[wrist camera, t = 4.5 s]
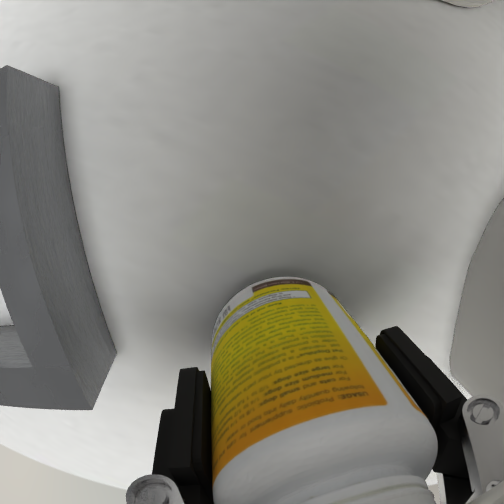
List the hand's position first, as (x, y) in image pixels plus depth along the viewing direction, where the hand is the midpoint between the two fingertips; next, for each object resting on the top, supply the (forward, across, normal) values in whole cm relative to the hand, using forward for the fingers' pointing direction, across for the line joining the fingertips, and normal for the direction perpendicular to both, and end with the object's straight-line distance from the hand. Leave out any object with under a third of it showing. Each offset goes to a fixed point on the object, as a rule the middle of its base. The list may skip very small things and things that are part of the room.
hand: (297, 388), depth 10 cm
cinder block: (+4, +19, -6) cm, 21 cm away
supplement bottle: (+4, 0, 0) cm, 4 cm away
